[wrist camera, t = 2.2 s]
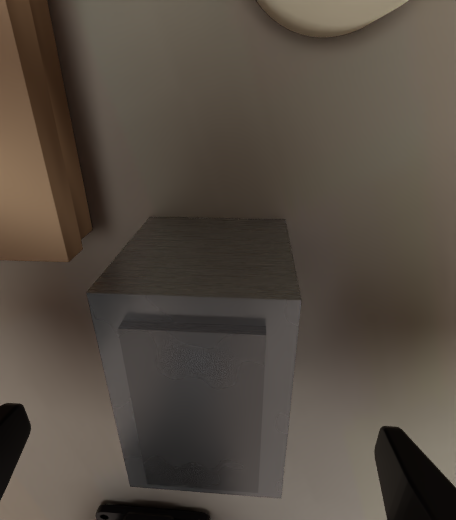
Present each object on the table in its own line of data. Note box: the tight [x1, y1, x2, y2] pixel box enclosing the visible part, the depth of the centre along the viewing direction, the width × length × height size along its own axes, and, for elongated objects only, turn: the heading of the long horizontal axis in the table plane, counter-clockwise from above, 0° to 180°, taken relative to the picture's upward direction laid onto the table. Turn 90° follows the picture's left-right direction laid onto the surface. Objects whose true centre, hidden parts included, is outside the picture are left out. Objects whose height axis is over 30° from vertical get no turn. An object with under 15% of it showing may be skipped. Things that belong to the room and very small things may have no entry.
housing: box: [87, 217, 301, 498], centre depth 11 cm, size 7×5×5 cm, turn 1°
